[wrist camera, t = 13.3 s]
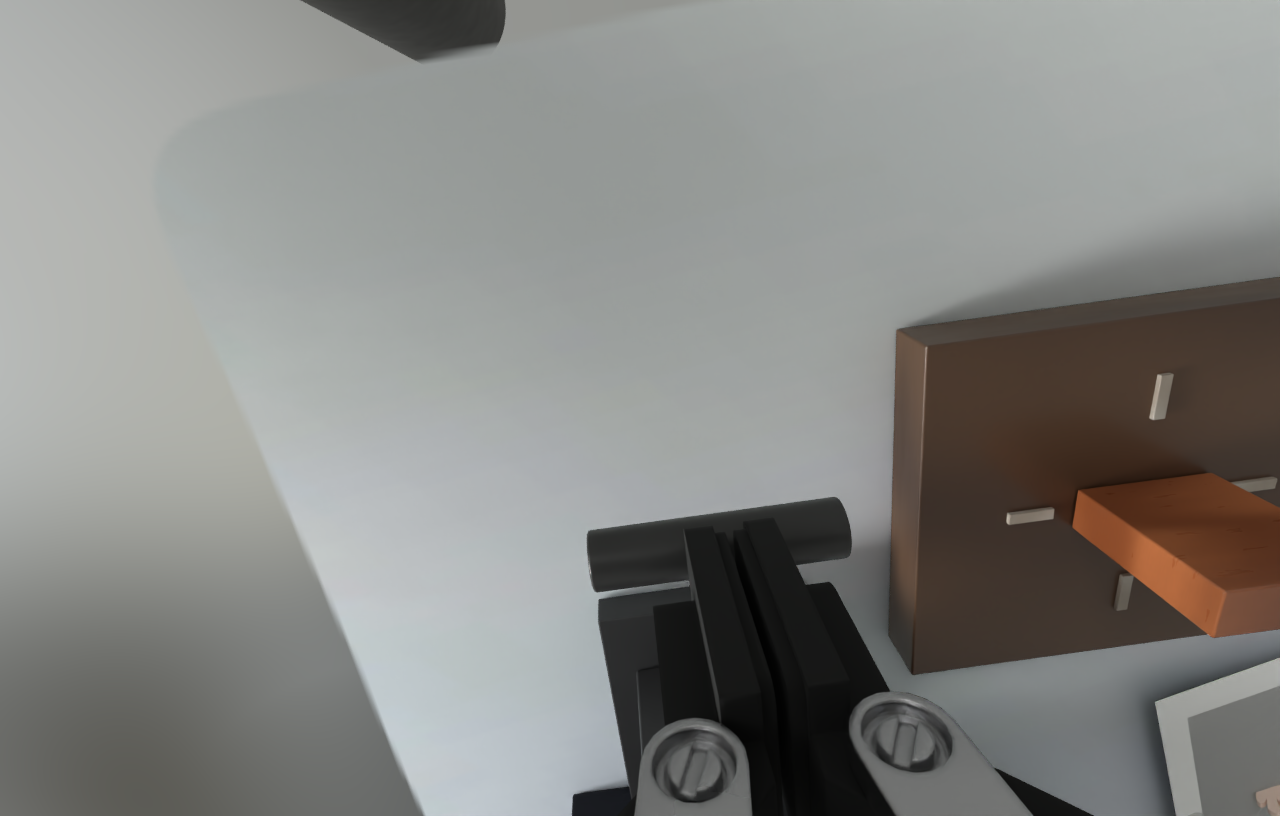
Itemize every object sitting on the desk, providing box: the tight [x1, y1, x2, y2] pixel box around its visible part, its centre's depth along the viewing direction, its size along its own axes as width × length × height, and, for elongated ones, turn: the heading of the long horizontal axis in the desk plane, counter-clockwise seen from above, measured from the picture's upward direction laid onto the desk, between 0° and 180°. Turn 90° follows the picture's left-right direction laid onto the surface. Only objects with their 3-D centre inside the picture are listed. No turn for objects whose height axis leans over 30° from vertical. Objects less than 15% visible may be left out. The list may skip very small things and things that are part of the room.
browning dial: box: [889, 277, 1280, 675], centre depth 21 cm, size 12×14×2 cm
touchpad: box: [1155, 658, 1280, 816], centre depth 27 cm, size 8×15×2 cm, turn 24°
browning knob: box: [1072, 473, 1280, 638], centre depth 17 cm, size 4×1×5 cm, turn 97°
